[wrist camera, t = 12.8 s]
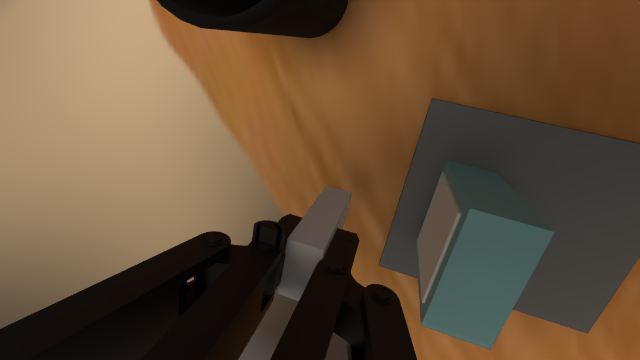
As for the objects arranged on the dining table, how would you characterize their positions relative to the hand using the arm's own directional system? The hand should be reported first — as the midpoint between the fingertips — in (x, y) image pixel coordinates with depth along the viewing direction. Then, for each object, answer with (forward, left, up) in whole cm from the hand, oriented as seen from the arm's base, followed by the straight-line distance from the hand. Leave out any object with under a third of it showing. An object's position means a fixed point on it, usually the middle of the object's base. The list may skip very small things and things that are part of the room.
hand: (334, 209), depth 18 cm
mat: (0, +12, -7) cm, 14 cm away
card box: (0, +8, -7) cm, 10 cm away
